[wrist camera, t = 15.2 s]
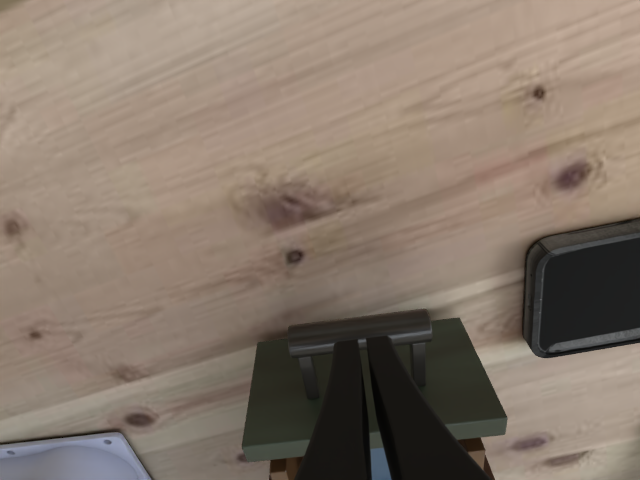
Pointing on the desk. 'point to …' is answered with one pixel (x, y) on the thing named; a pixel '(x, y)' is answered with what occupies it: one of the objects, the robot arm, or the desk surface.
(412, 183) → the desk surface
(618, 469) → the desk surface
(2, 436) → the desk surface
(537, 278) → the phone
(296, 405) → the drawer
